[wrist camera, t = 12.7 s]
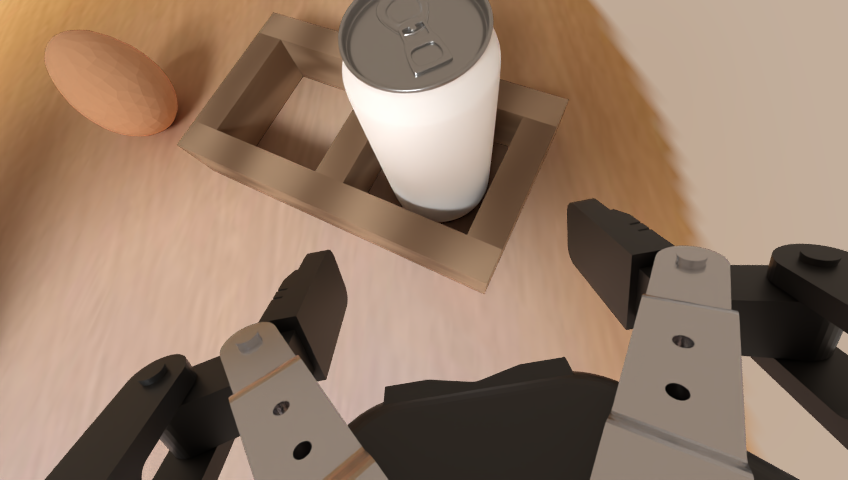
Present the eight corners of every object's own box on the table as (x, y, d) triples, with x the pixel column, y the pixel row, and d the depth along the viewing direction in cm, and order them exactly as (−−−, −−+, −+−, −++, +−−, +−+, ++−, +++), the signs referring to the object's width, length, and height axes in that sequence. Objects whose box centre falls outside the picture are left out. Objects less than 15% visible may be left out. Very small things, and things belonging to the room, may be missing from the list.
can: (464, 125, 25) (460, -65, 13) (505, 201, 23) (540, 53, 11) (381, 160, 25) (305, 1, 13) (414, 240, 23) (358, 131, 11)
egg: (175, 78, 30) (76, -12, 22) (211, 117, 28) (117, 33, 20) (118, 124, 29) (-5, 46, 22) (151, 167, 27) (30, 98, 20)
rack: (213, 170, 26) (176, 144, 23) (295, 51, 29) (273, 12, 26) (484, 294, 21) (486, 284, 18) (555, 134, 24) (568, 99, 20)
